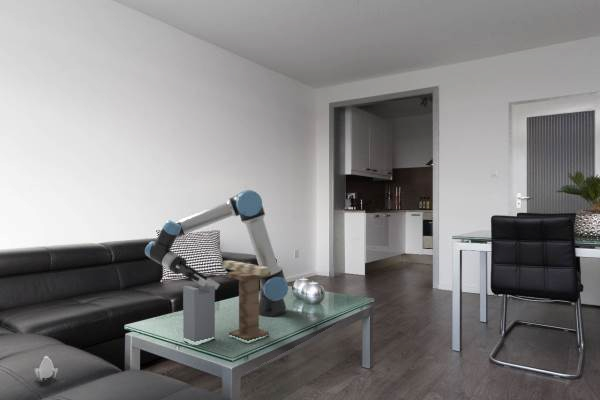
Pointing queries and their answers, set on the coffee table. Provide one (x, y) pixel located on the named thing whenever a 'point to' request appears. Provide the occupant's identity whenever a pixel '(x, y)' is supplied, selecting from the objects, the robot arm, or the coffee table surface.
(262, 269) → the birch bar
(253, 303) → the walnut stand
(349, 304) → the coffee table surface
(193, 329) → the slotted block
